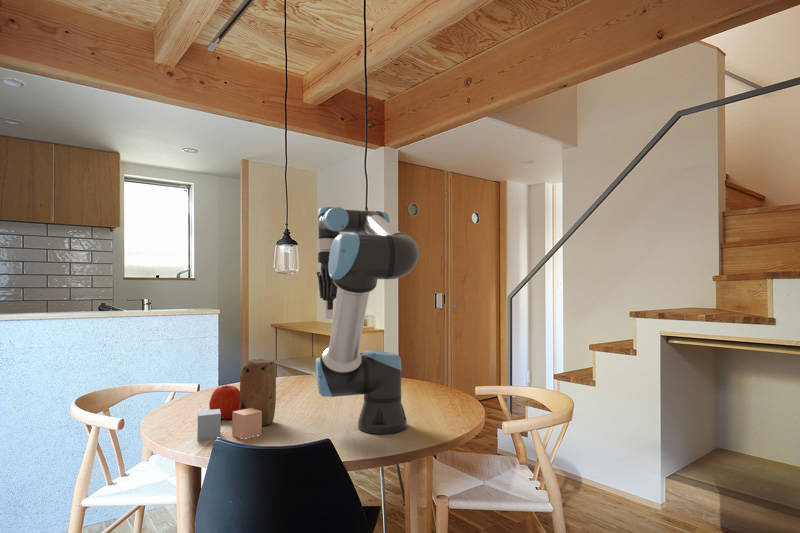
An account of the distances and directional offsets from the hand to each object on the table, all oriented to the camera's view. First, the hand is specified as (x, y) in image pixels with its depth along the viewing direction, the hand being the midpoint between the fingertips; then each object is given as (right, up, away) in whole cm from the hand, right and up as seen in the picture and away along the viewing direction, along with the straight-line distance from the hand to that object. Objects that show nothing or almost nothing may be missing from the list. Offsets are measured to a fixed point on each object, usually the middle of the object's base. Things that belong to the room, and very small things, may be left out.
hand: (328, 319), depth 163 cm
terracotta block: (-20, -31, -26) cm, 45 cm away
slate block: (-30, -31, -27) cm, 51 cm away
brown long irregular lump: (-20, -32, -14) cm, 41 cm away
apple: (-33, -32, -6) cm, 47 cm away
